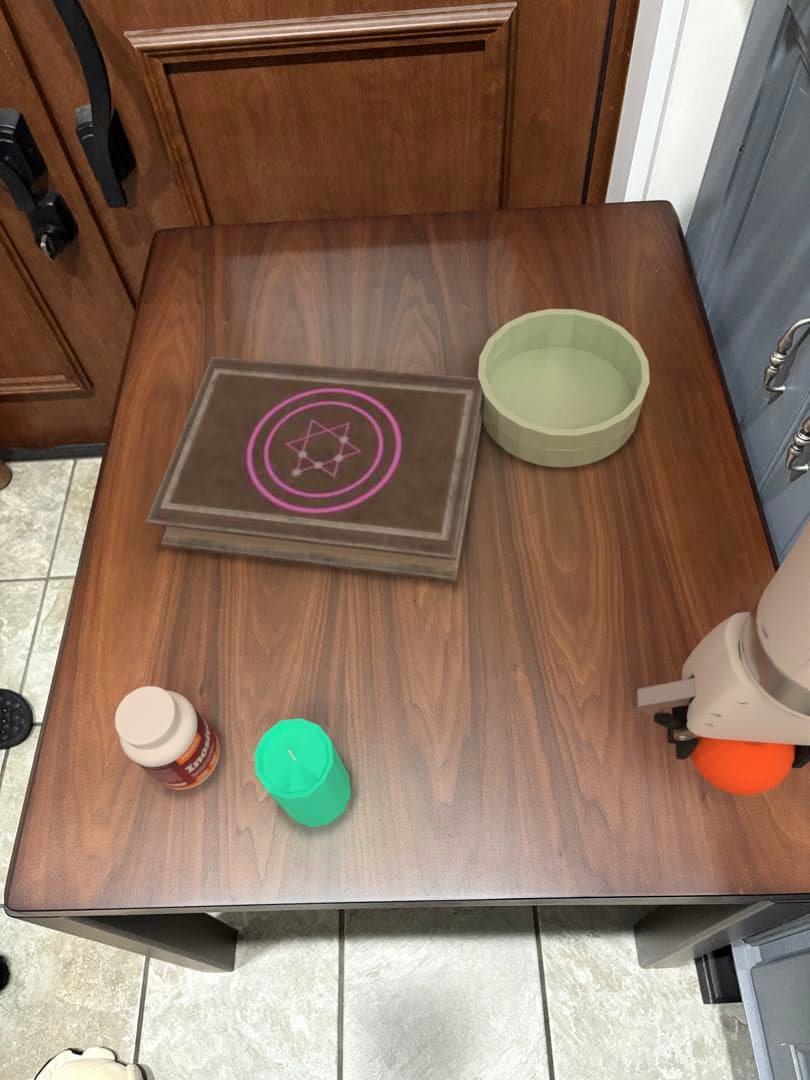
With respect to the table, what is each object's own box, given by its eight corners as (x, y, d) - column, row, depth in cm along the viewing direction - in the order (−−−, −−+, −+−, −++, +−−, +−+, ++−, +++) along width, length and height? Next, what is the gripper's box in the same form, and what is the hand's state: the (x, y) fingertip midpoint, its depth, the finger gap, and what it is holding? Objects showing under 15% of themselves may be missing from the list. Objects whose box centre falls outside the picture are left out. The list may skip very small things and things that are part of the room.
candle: (272, 773, 69) (238, 731, 58) (336, 744, 70) (314, 698, 59) (295, 839, 66) (263, 807, 56) (361, 809, 67) (342, 772, 56)
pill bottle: (214, 793, 68) (174, 757, 59) (145, 789, 69) (94, 753, 59) (227, 722, 71) (191, 678, 62) (161, 719, 72) (115, 675, 63)
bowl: (636, 346, 91) (645, 310, 86) (643, 471, 82) (653, 438, 78) (482, 342, 93) (483, 306, 88) (473, 463, 84) (473, 431, 80)
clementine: (715, 683, 61) (738, 647, 55) (801, 737, 59) (836, 705, 52) (661, 765, 59) (679, 737, 53) (749, 825, 56) (779, 803, 50)
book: (162, 546, 82) (145, 521, 77) (224, 383, 93) (212, 352, 88) (456, 582, 77) (455, 557, 73) (485, 405, 88) (485, 374, 84)
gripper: (984, 588, 42) (855, 700, 57) (647, 574, 45) (609, 685, 60) (1024, 726, 38) (874, 807, 54) (654, 702, 41) (611, 785, 56)
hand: (735, 742), depth 57 cm, fingers closed on clementine, 7 cm apart
